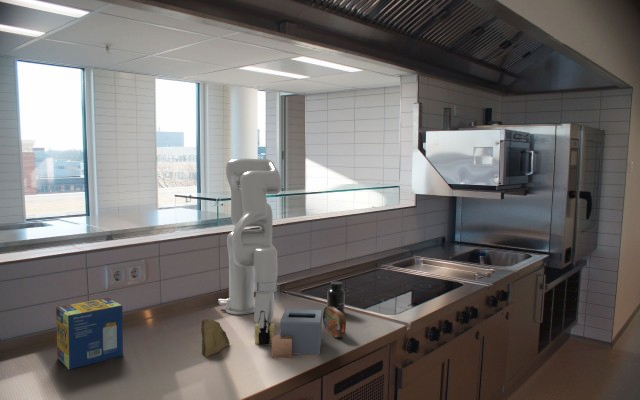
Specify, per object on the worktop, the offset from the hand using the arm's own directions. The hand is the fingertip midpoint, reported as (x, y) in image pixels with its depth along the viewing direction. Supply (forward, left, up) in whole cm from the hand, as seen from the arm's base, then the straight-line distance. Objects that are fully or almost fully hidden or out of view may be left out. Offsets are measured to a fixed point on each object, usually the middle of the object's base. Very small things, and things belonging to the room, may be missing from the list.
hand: (265, 341), depth 154 cm
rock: (-14, -7, -1) cm, 16 cm away
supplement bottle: (+22, +33, -1) cm, 40 cm away
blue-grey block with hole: (+12, -2, 0) cm, 12 cm away
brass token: (0, 0, -1) cm, 1 cm away
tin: (+22, +11, -1) cm, 25 cm away
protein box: (-49, -16, -1) cm, 52 cm away
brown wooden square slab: (+7, -11, -1) cm, 13 cm away
